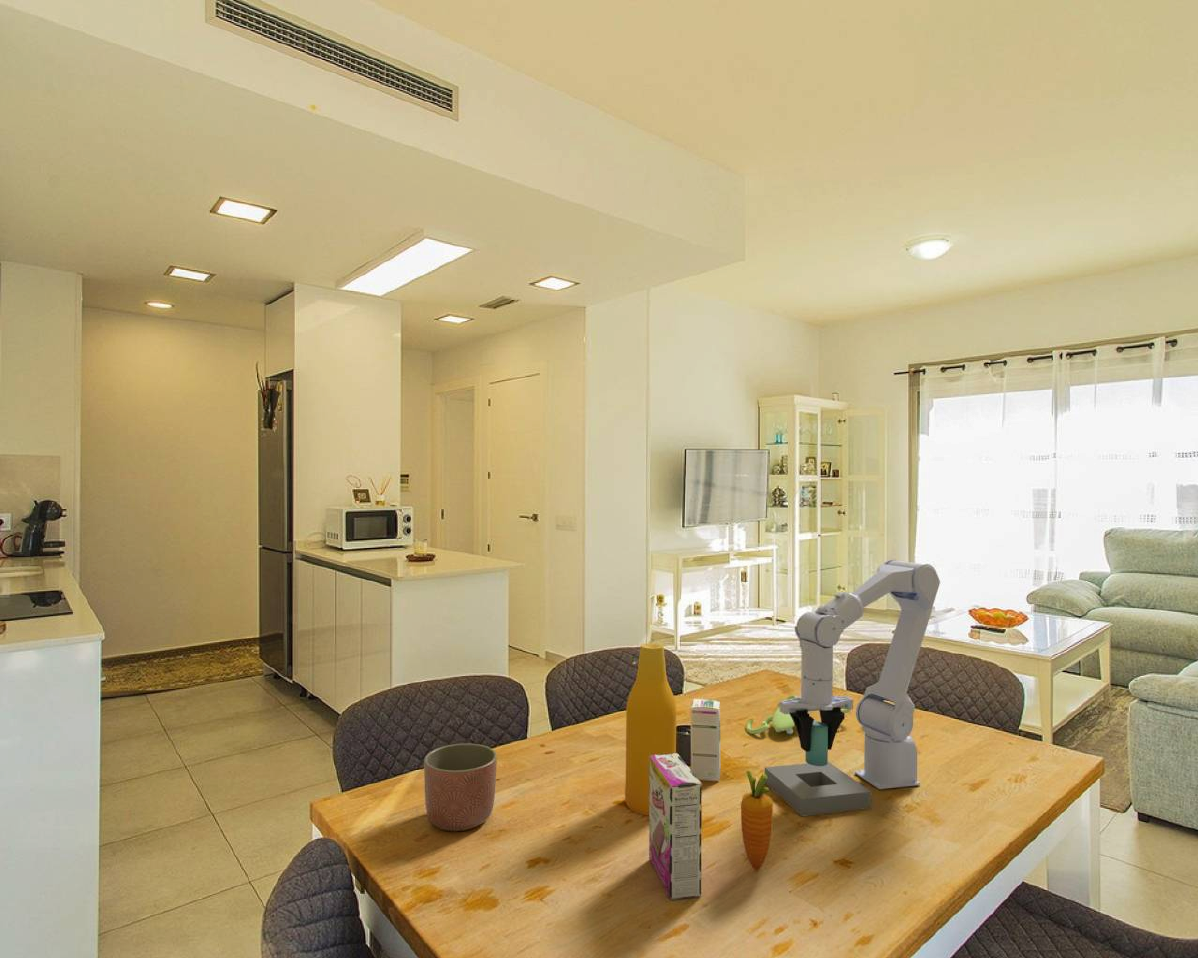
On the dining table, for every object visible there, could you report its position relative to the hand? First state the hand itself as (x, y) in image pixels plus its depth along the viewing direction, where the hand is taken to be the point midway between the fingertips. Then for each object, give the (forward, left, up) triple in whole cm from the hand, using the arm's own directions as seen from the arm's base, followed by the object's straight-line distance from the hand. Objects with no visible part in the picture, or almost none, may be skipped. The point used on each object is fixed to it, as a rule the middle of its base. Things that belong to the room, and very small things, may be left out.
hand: (816, 748), depth 131 cm
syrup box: (+17, -13, -9) cm, 23 cm away
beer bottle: (+32, -3, -9) cm, 33 cm away
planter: (+66, -5, -9) cm, 67 cm away
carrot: (+23, +21, -9) cm, 32 cm away
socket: (0, 0, -9) cm, 9 cm away
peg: (0, 0, -2) cm, 2 cm away
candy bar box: (+36, +20, -9) cm, 42 cm away
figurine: (-17, -35, -9) cm, 40 cm away
